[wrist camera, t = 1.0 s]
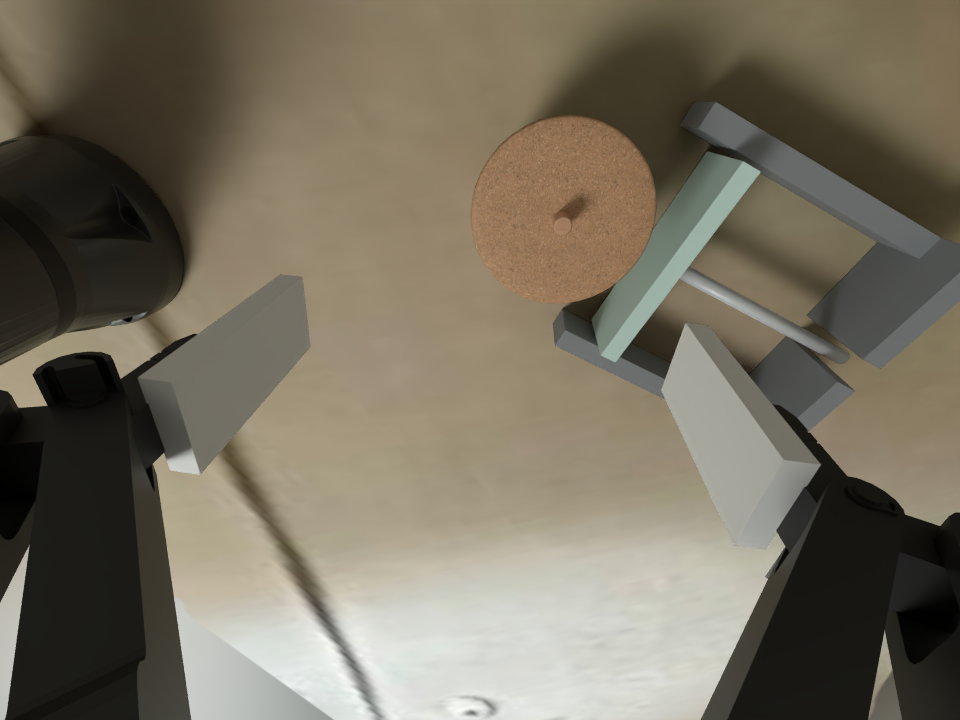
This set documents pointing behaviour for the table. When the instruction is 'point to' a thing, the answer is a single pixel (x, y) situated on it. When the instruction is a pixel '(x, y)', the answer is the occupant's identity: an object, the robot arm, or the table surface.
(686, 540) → the table surface
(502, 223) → the lidded jar
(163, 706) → the robot arm
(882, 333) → the grey fixture frame
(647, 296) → the pusher
